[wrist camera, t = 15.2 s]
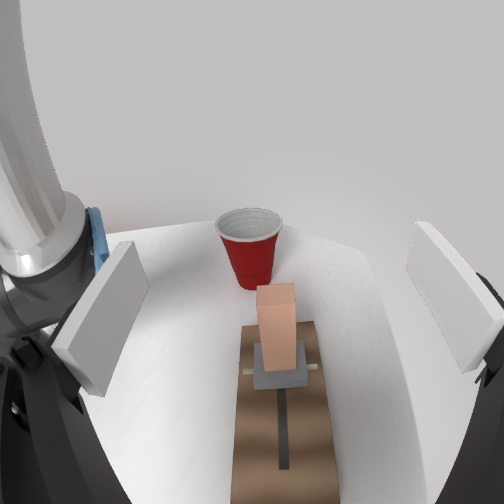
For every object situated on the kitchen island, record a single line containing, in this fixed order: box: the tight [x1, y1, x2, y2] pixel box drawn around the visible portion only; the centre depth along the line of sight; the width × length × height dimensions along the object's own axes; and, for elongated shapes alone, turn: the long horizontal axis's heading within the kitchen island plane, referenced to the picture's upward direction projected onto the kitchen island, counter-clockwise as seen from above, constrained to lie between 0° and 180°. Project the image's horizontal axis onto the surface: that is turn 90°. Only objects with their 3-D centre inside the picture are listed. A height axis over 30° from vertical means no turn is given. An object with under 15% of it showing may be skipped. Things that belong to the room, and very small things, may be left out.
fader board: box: [230, 321, 340, 504], centre depth 29 cm, size 26×10×2 cm, turn 179°
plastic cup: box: [215, 208, 282, 290], centre depth 49 cm, size 11×11×12 cm
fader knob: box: [253, 283, 308, 390], centre depth 30 cm, size 6×6×12 cm
